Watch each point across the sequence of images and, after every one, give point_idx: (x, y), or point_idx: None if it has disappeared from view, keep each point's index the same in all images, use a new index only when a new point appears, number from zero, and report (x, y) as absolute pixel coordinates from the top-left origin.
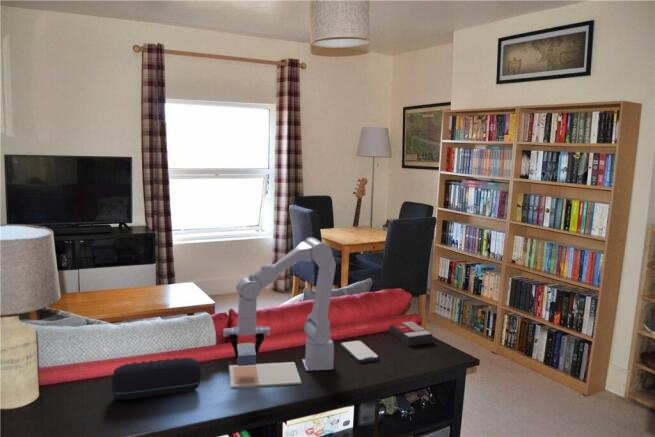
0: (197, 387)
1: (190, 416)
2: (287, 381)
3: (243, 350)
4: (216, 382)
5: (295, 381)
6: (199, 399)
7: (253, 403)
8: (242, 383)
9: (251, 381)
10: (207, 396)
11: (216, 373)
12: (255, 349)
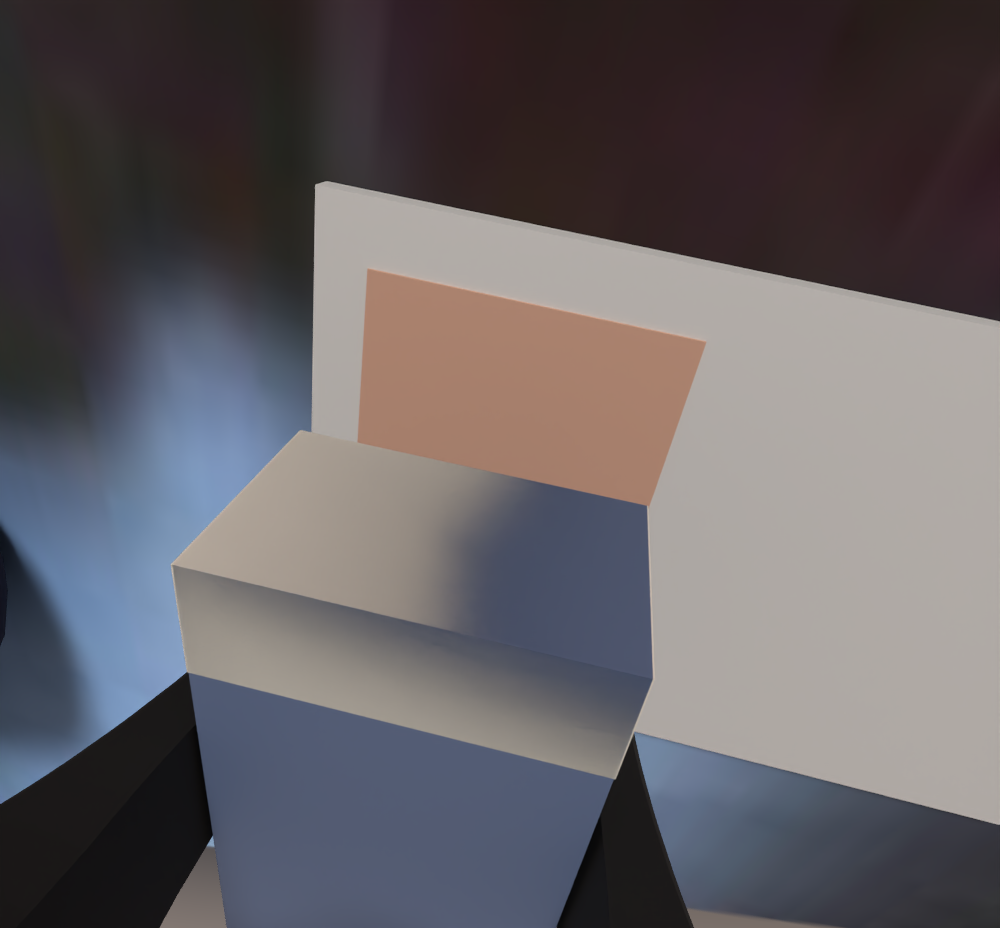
0: (4, 618)
1: None
2: (880, 771)
3: (323, 853)
4: (183, 498)
5: (962, 798)
6: (80, 671)
7: None
8: None
9: None
10: (132, 661)
11: (164, 309)
12: (566, 926)
